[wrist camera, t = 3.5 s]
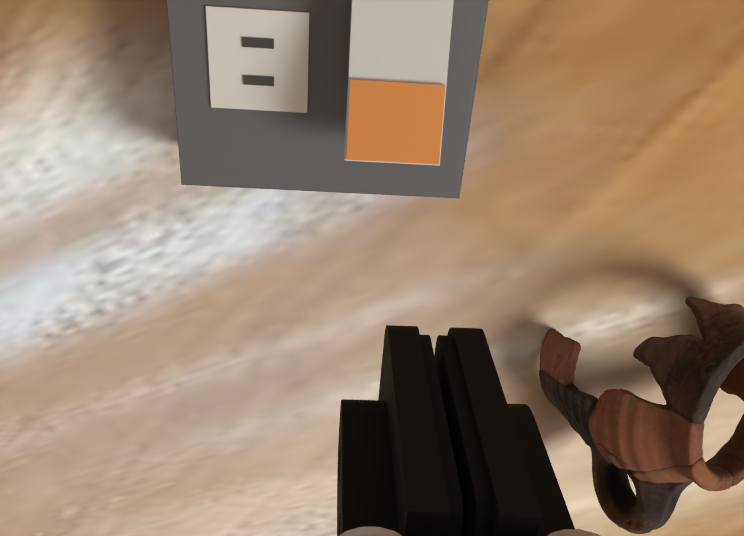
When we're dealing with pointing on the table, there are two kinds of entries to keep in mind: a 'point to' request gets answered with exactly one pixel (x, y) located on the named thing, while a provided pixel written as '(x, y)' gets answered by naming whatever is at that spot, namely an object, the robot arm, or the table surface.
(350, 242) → the table surface
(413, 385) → the robot arm
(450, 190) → the power strip
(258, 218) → the table surface
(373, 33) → the rocker
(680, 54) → the table surface
